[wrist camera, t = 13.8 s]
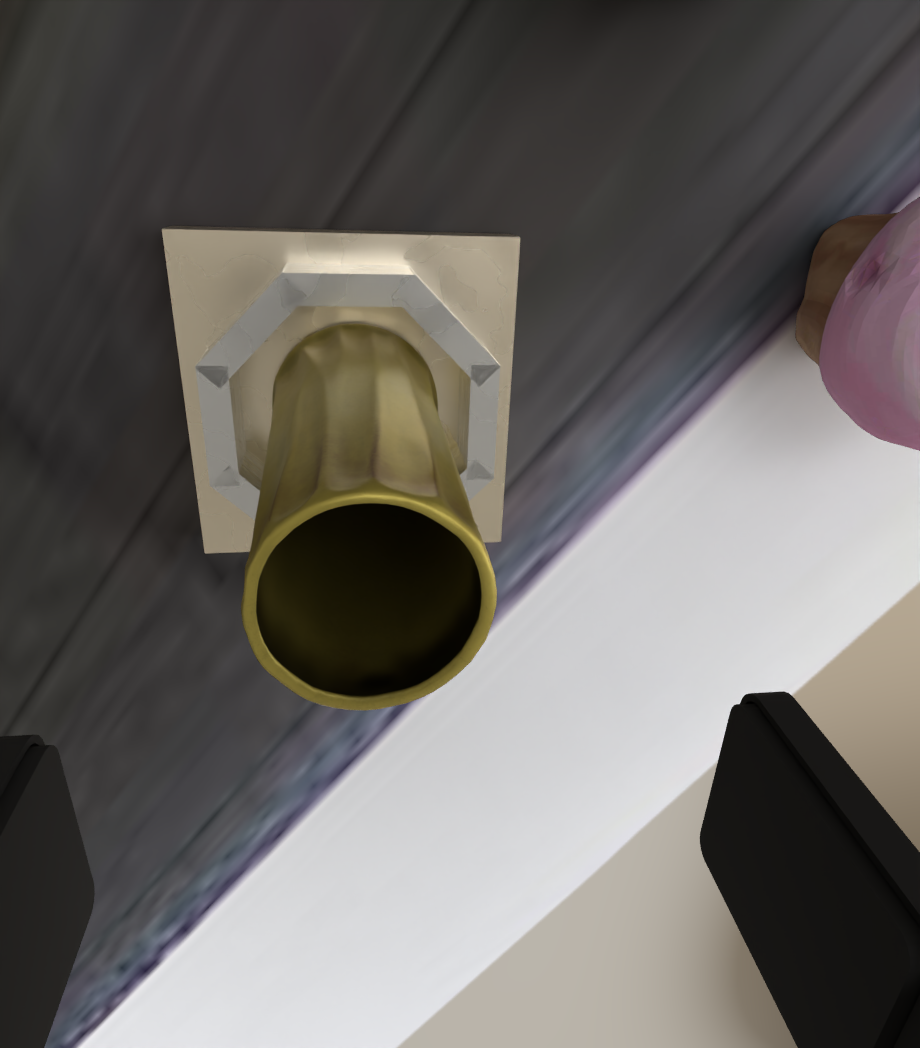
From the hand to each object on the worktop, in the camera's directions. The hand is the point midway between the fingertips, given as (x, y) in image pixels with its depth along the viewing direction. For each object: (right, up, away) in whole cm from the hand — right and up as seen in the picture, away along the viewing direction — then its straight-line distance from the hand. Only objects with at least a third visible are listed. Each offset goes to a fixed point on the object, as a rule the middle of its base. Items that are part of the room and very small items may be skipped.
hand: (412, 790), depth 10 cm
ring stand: (-4, +9, +18) cm, 21 cm away
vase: (-3, +8, +17) cm, 20 cm away
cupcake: (+16, +13, +20) cm, 29 cm away
